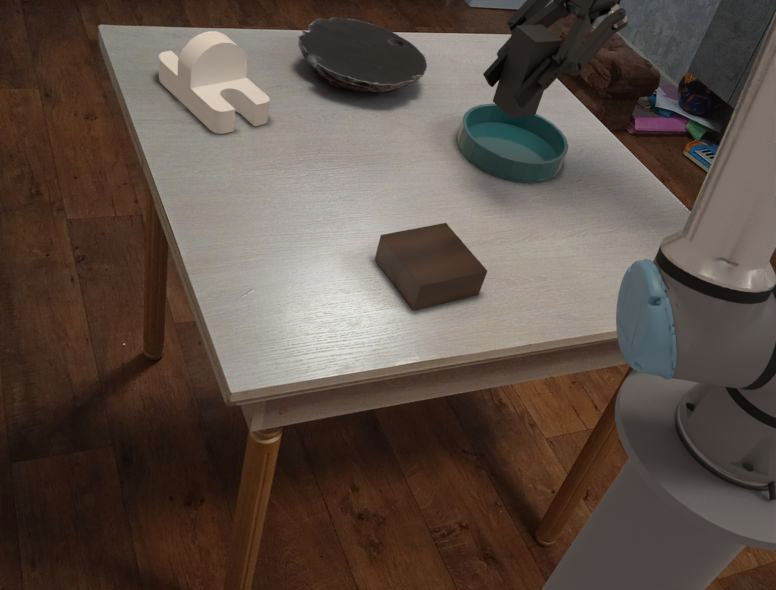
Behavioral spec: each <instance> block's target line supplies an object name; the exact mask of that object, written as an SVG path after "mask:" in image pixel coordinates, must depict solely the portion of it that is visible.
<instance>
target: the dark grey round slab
mask: <svg viewBox="0 0 776 590" xmlns="http://www.w3.org/2000/svg"><path fill="white" fill-rule="evenodd" d="M307 30H308V31H305V30H301V32H302V34H301V35H298V36H297V38H298V42H297V44H298V47H299V49H300V52H301V54H302V55H303V57H304V59H305V60H306V61H307V62H308V64H309V65H310V66H311V67H312V68H314V69H315V70H316V71H317V72H318V74H319V76H320V78H322V79H323V80H325V82H326V83H328V84H329V85H330V86H333V87H335V88H344V89H347V90H351V91H354V92H372V93H385V92H397V91H398V90H399V89H400V88H404V87H405V88H406V87H408V86H410V85H412V84H413V83H415V82H416V81H419V80H420V79H421V78H423V77H424V76H425V73H426V72H427V68H428V63H427V59H426V57H425V55H424V54H423V53H422V52H421V51H420V50H419V49H418V47H416V46H415V45H414V44H413V43H411V42H410V41H409V40H407V39H405V38H403V37H402V36H400V35H398V34H397V33H395V32H393V31H391V30H389V29H387V28H384V27H382V26H380V25H376V24H373V23H370V22H367V21H363V20H358V19H356V18H355V19H353V18H341V17H335V16H334V17H331V18H329V19H326V18H317V19H316V20H313V21H312V22H311V23H310V24H308V27H307Z"/></svg>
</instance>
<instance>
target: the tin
mask: <svg viewBox="0 0 776 590" xmlns="http://www.w3.org/2000/svg"><path fill="white" fill-rule="evenodd" d="M456 139H457V140H456V141H457V146H458V149H459V150H460V152H461V154H462V155H463V156H464V157H465V158H466V159H467V161H469V162H470V163H472V165H474V166H475V167H477V168H479V169H480V170H482V171H483V172H486V173H487V174H489V175H492V176H493V177H497V178H500V179H503V180H507V181H511V182H515V183H516V182H517V183H523V184H525V183H527V184H535V183H541V182H546V181H549V180H551V179H553V178H554V177H556V176H557V175H558V174H559V172H560V170H561V169H562V166H563V164H564V161H565V159H566V156H567V154H568V152H569V144H568V139H567V137H566V136H565V134H564V133H563V132H562V130H561V129H560V128H559V127H558V126H556V125H555V124H554V123H553V122H552V121H550V120H548V119H547V118H546V117H544V116H542V115H540V114H537V113H536V114H535V115H531V116H522V117H514V118H510V117H509V116H508V115H507V114H506V113H505V112H504V111H502V110H501V109H500V108H499V107H498V106H497V105H496V104H495V103H483V104H479V105H475V106H473V107H471V108H469V109H468V110H467V111H465V113H464V115H463V116H462V120H461V123H460V126H459V130H458V133H457V138H456Z"/></svg>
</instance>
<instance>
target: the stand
mask: <svg viewBox="0 0 776 590" xmlns="http://www.w3.org/2000/svg"><path fill="white" fill-rule="evenodd" d="M374 260H375V262H376V263H377V264H378V266H379V267H380V268H381V270H382V271H383V272H384V274H385V275H386V277H388V279H389V280H390V281H391V283H392V285H394V287H395V288H396V289H397V291H398V292H399V293H400V294H401V296H402V298H403V299H404V300H405V301H406V302H407V304H408V305H409V306H410V308H411V309H412V310H413V311H416V310H420V309H424V308H428V307H433V306H437V305H441V304H445V303H449V302H454V301H457V300H461V299H467V298H470V297H474V296H478V295H480V292H481V289H482V287H483V284H484V281H485V279H486V276H487V273H488V270H487V269H486V267H485V266H484V265H483V264H482V262H481V261H479V259H478V258H477V257H476V256H475V254H473V252H472V251H471V250H470V248H469V247H467V245H466V244H465V243H464V242H463V241H462V240H461V239H460V237H459V236H458V235H457V234H456V233H455V232H454V231H453V229H452V228H451V227H450V226H449V224H448V223H447V222H442V223H438V224H432V225H426V226H421V227H416V228H411V229H405V230H399V231H395V232H389V233H384V234H380V237H379V240H378V245H377V249H376V252H375V256H374Z"/></svg>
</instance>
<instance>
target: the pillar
mask: <svg viewBox="0 0 776 590" xmlns="http://www.w3.org/2000/svg"><path fill="white" fill-rule="evenodd" d="M562 40H563V39H561V38H560V37H559V36H558V35H556V34H555V33H554V32H553V31H551V29H549V28H546V27H545V26H543V25H522V26H516V28H515V31H514V34H513V38H512V41H511V44H510V47H509V50H508V54H507V57H506V60H505V63H504V66H503V70H502V73H501V76H500V79H499V81H498V82H497V86H496V89H495V92H494V95H493V98H492V103H493V104H496V105H497V106H498V107H499V108H500V109H501V110H502V111H504V112H505V113H506V114H507V115H508V116H509V117H510V118H514V117H522V116H531V115H535V114H537V112H538V109H539V105H540V103H541V101H542V98H543V94H544V92H545V90H544V91H543V90H542V89H540V90H539V91H538V92H537V93H536V94H535V95H534V96H533V97H532V98H531V100H530V101H529V102H528V103H527V104H526V105H525V106H524V107H523V108H520V107H519V106H518V104H517V102H516V100H515V98H514V96H513V95H514V94H515V93H516V92H517V90H518V89H519V88H520V87H521V86H522V85H523V84H524V83H525V82H526V81H527V79H528V78H529V77H530V76H531V75H532V74H533V73H534V72H535V71H536V70H537V68H538V67H539V66H540V65H541V64H542V63H543V62H544V61H545V60H546V59H547V58H548V59H550V60H551V61H552V63H553V62H554V61H553V58H552V56H553V55H554V57H555V56H556V54H557V52H558V50H559V49H560V47H561V45H562V43H563V41H562Z"/></svg>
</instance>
